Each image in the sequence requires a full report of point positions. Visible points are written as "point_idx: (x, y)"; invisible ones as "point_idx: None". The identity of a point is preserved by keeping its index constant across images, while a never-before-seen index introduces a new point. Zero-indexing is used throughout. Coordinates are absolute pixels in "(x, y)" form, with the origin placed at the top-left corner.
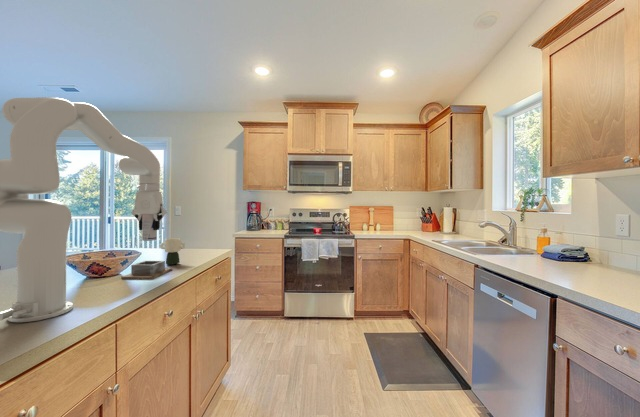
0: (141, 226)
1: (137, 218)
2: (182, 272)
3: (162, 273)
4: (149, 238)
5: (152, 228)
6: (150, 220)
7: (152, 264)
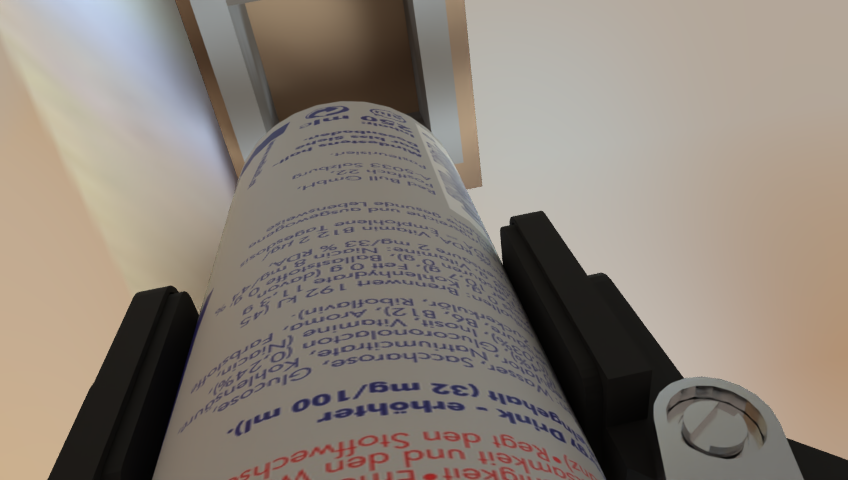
0: (526, 282)
1: (812, 464)
2: (96, 176)
3: (205, 74)
4: (265, 146)
5: (204, 305)
6: (170, 464)
7: (226, 13)
